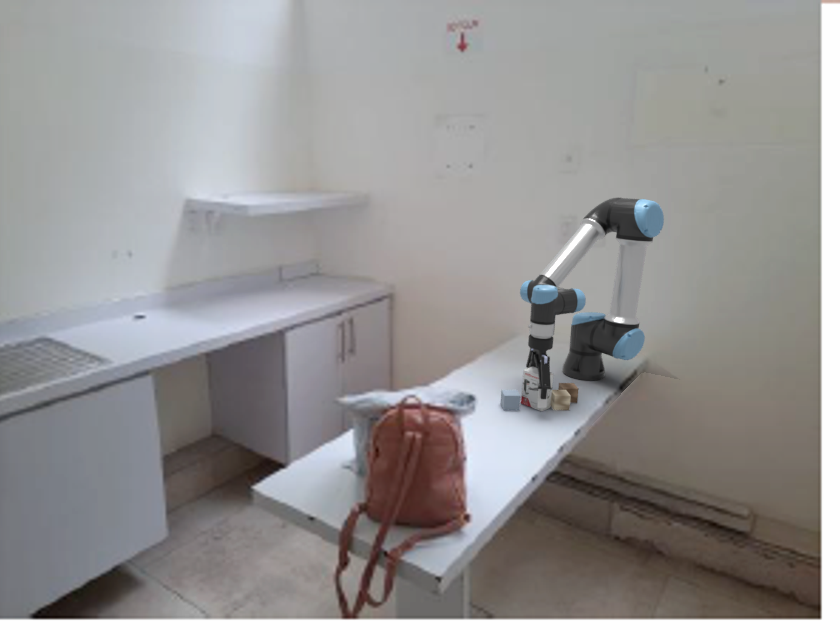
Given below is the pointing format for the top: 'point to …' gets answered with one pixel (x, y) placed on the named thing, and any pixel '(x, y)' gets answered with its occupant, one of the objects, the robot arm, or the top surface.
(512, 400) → the cube slate
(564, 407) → the cube maple
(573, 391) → the cube walnut
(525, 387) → the ink box
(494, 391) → the top surface
